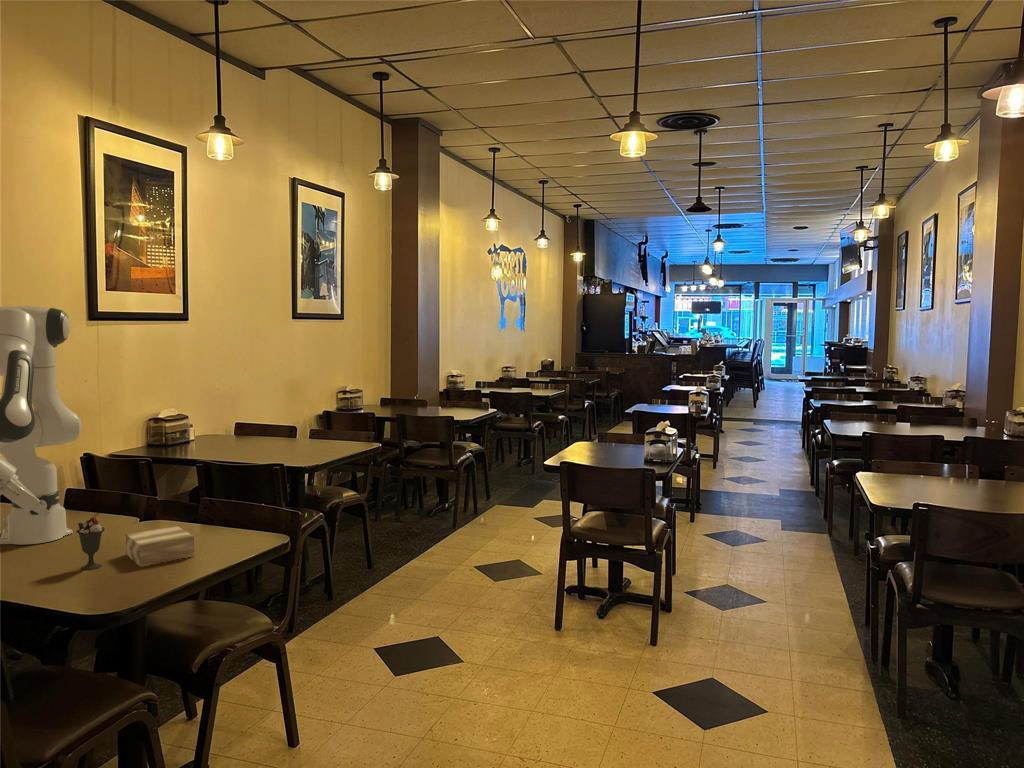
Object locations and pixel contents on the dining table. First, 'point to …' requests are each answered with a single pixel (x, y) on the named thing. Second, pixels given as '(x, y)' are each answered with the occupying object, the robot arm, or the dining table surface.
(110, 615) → the dining table surface
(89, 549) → the sundae
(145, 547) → the block
